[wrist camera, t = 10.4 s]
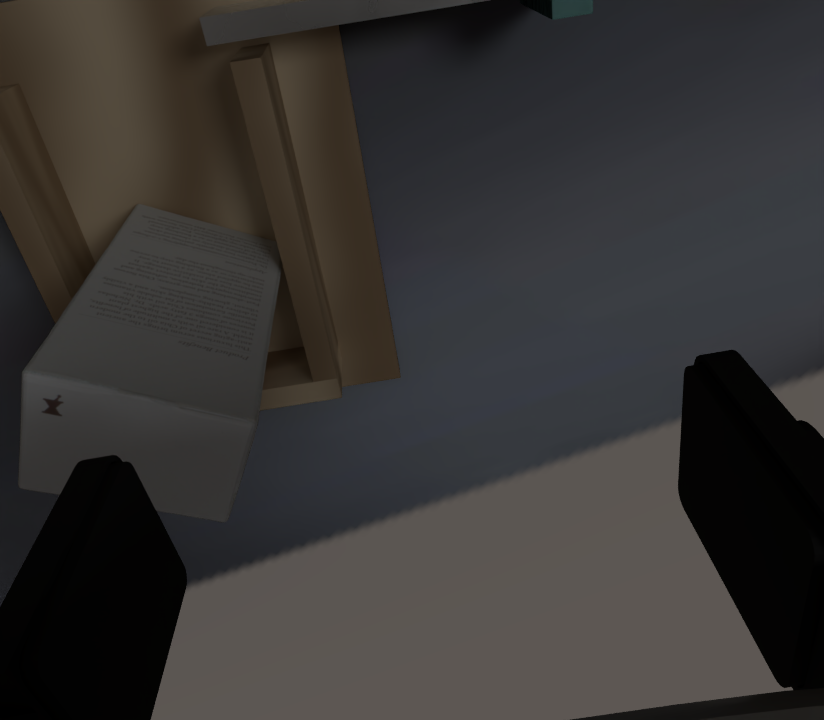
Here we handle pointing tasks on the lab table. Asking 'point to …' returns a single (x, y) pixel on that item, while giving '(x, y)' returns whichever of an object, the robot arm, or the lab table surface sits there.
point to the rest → (197, 166)
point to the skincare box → (157, 364)
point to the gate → (338, 14)
